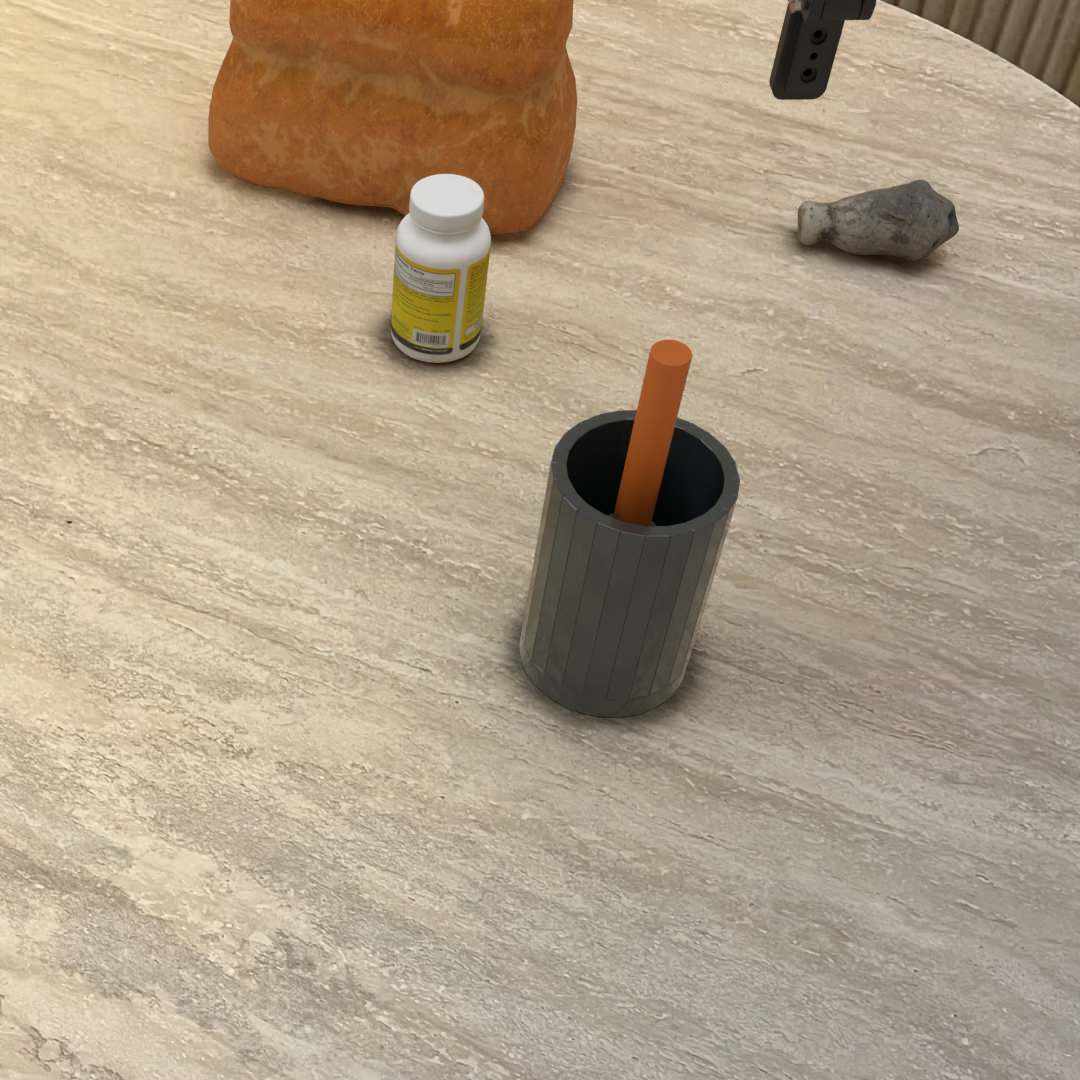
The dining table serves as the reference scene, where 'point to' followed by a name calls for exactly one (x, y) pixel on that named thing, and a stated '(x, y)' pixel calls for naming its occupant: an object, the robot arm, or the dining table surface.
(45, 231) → the dining table surface
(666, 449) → the brush
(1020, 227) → the dining table surface
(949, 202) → the stone
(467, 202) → the pill bottle
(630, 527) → the ribbed pencil cup
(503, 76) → the bread
